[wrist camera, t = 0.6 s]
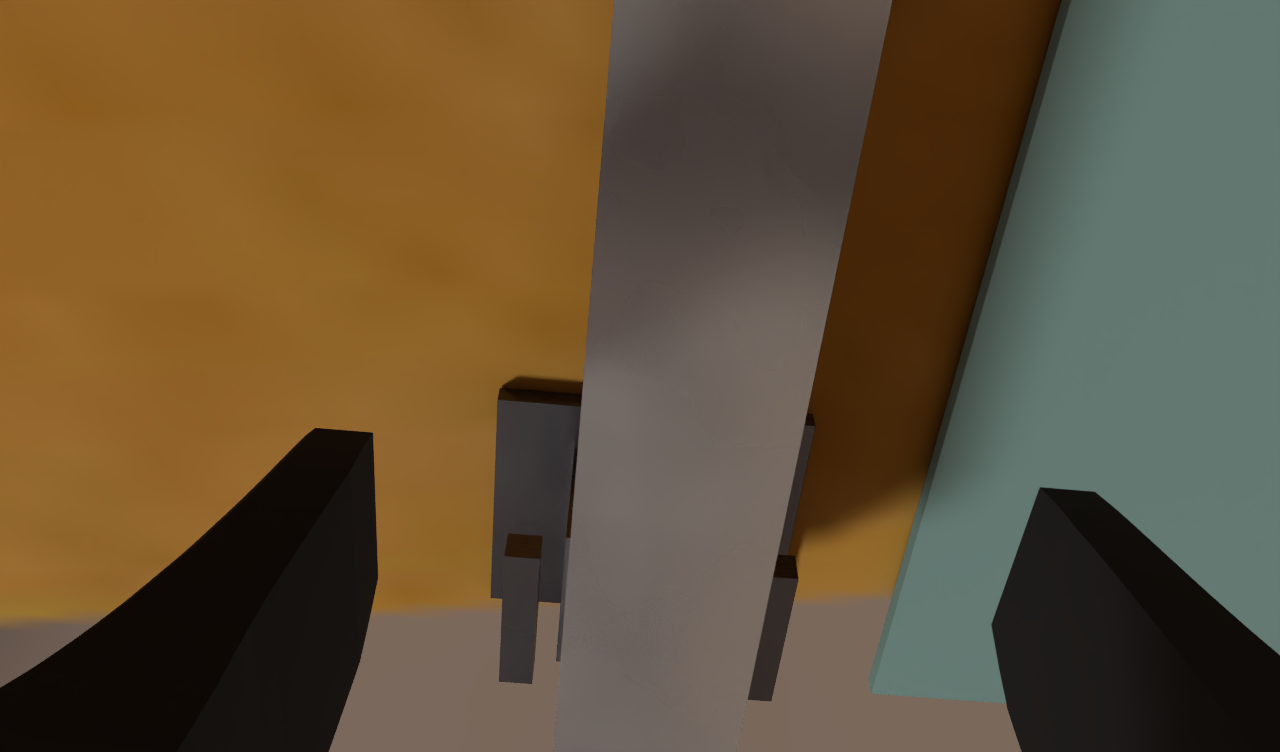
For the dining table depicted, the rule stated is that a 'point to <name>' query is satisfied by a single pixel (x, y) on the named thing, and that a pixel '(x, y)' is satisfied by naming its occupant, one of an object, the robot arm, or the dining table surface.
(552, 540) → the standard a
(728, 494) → the rail
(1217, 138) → the mat
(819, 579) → the dining table surface
